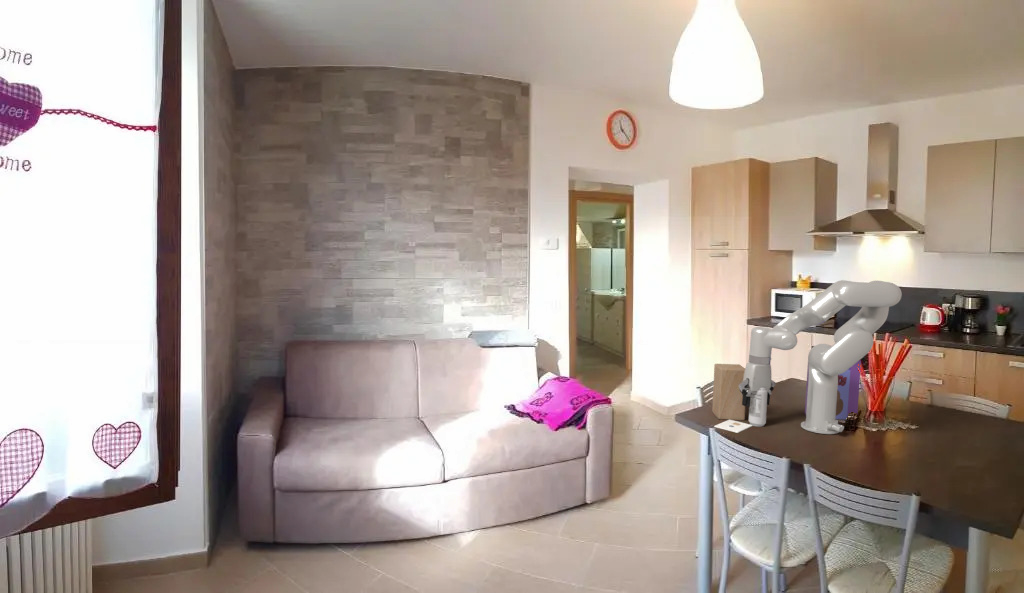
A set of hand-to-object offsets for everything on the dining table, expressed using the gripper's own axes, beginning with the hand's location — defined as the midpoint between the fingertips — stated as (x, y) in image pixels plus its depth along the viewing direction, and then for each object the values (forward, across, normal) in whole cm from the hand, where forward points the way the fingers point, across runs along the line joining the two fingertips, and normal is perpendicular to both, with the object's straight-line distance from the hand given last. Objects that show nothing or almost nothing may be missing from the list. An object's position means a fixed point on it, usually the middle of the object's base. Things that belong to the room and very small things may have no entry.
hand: (755, 405), depth 215 cm
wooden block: (+8, +2, -11) cm, 14 cm away
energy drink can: (+8, -1, +1) cm, 8 cm away
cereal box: (+7, -36, +4) cm, 37 cm away
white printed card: (+8, +9, -1) cm, 12 cm away
